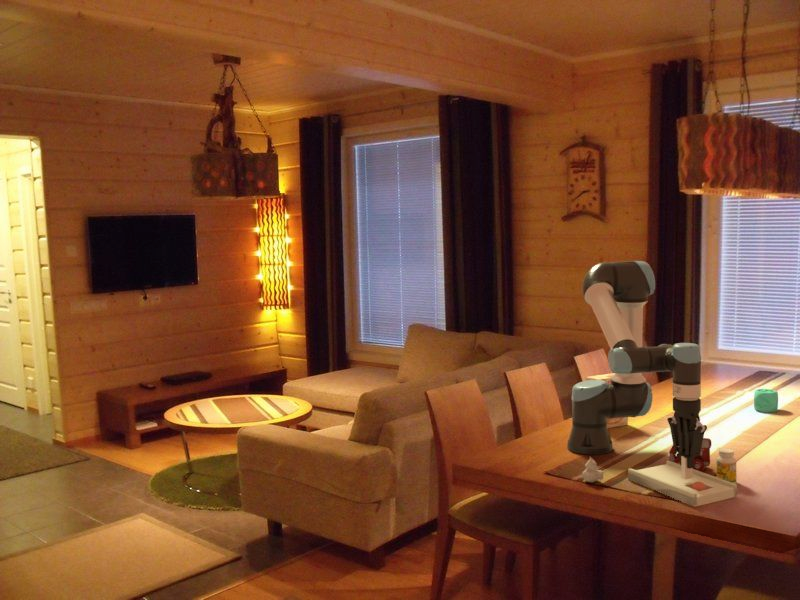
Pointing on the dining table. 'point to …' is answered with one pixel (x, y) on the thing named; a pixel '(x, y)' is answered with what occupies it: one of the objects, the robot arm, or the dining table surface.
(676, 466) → the board
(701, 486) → the ball
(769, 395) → the decorative dice
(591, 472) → the white figurine
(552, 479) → the dining table surface
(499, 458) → the dining table surface
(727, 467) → the supplement bottle
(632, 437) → the dining table surface
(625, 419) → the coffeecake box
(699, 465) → the toy fire truck
